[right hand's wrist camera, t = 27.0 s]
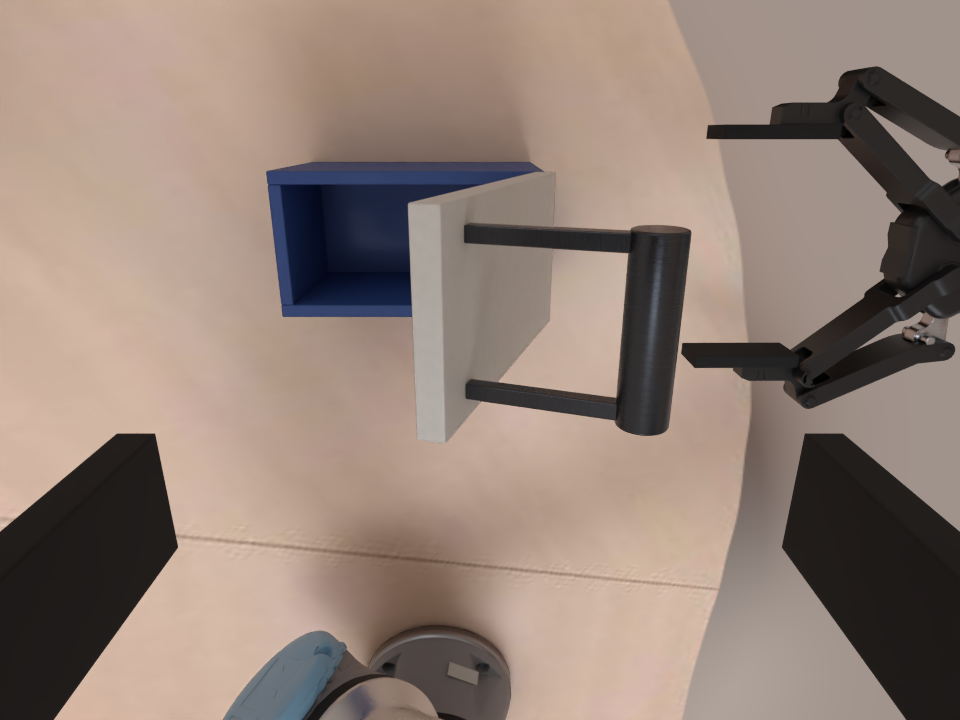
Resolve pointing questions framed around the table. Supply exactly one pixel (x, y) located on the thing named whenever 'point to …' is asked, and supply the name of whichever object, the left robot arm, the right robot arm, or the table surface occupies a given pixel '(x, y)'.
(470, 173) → the blue cabinet box
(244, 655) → the table surface
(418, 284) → the lid
